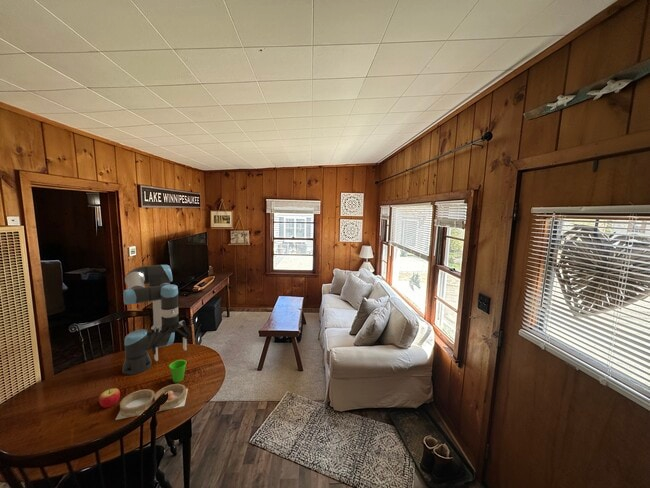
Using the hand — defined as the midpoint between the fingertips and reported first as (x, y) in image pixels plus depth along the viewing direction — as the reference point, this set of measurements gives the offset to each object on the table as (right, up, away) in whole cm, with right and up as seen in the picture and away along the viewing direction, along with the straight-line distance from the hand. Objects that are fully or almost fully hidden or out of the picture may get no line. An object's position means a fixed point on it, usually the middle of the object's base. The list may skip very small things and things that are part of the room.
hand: (171, 354), depth 134 cm
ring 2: (-1, -25, +2) cm, 25 cm away
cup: (-7, -24, +18) cm, 31 cm away
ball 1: (-3, -25, +4) cm, 25 cm away
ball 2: (0, -25, 0) cm, 25 cm away
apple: (-30, -26, -2) cm, 40 cm away
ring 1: (-15, -25, -3) cm, 29 cm away
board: (-8, -26, 0) cm, 27 cm away
